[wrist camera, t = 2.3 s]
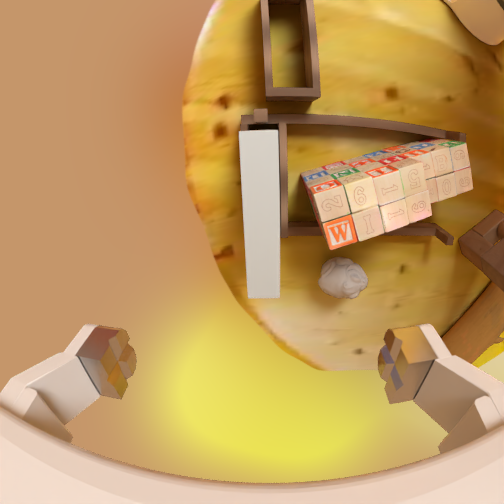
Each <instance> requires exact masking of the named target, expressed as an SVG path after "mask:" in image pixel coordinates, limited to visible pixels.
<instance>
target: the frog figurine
mask: <svg viewBox="0 0 504 504" xmlns="http://www.w3.org/2000/svg"><path fill="white" fill-rule="evenodd" d="M318 284H319V286H320V288H321V289H322V291H323V292H325V293H326V294H328V295H331V296H333V297H336V298H346V299H347V298H350V299H353V298H356V297H357V296H358V295H359V293H360V291H362V290H363V289H365V288H366V287H367V284H368V278H367V276H366V274H365V272H364V270H363V269H362V267H361V266H360V265H358V264H357V263H353V261H352V260H351V259H349V258H343V257H334V258H331V259H329V260H328V261H326V262H325V263H324V264H323V266H322V269H321V277H320V278H319V280H318Z"/></svg>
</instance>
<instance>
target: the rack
mask: <svg viewBox="0 0 504 504" xmlns="http://www.w3.org/2000/svg"><path fill="white" fill-rule="evenodd" d="M241 121H242V124H240V126H241V131H250V124H277V129H278V146H279V189H280V236H281V238H288V236H323V234H322V232H321V229H320V227H319V224H318V222H317V221H296V222H288V171H287V128H286V124H326V125H344V126H357V127H368V128H378V129H387V130H395V131H402V132H409V133H415V134H421V135H427V136H433V137H438V138H443V139H449V140H455V141H460V142H465V143H466V134H464V133H460V132H453V131H445V130H441V129H436V128H431V127H426V126H420V125H415V124H409V123H402V122H396V121H388V120H380V119H372V118H362V117H351V116H337V115H317V114H268V111H267V109H254V115H241ZM380 235H425V236H436V237H437V238H438V239H440V240H441V241H442V242H443V243H445V244H446V245H453V240H454V237H453V236H452V235H450V234H449V233H448V232H446V231H445V230H444V229H442V228H441V227H440V226H438V225H437V224H435V223H417V222H413V223H409V224H408V225H406V226H403V227H401V228H398V229H395V230H393V231H390V232H384V233H383V234H380Z"/></svg>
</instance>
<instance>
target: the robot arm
mask: <svg viewBox="0 0 504 504" xmlns="http://www.w3.org/2000/svg"><path fill="white" fill-rule="evenodd" d="M443 1H444V2H445V3H447V4H448V5H449V6H450V7H451V9H452V10H453V11H454V13H455V14H456V16H457V17H458V18H459V20H460V21H461V22H462V23H463V25H464V26H465V27H466V28H467V29H468V30H469V31H470V32H471V33H472V34H473V35H474V36H475V37H477V38H478V39H479V40H481V41H483V42H484V43H486V44H489V45H497V44H499V43H500V42H501V41H503V40H504V0H443ZM129 339H130V338H129V336H128V333H127V331H126V330H124V329H121V328H113V327H107V326H100V325H99V326H98V325H92V324H86V325H84V326H83V328H82V329H81V330H80V331H79V333H78V334H77V335H76V337H75V338H74V339H73V341H72V342H71V343H70V344H69V346H68V347H67V348H66V350H65V351H64V352H63V353H58V354H56V355H54V356H52V357H50V358H48V359H46V360H44V361H43V362H41V363H39V364H37V365H35V366H33V367H31V368H30V369H28V370H26V371H24V372H22V373H20V374H18V375H16V376H14V377H13V378H11V379H10V380H9V382H8V383H7V385H6V386H5V387H4V389H3V390H2V392H1V393H0V504H504V383H502V382H500V381H499V380H497V379H495V378H494V377H492V376H491V375H489V374H487V373H485V372H483V371H482V370H480V369H479V368H477V367H475V366H473V365H472V364H470V363H468V362H466V361H465V360H463V359H461V358H460V357H458V356H456V355H454V356H452V355H451V354H450V352H449V350H448V349H447V347H446V346H445V344H444V343H443V341H442V339H441V338H440V336H439V335H438V333H437V332H436V330H435V329H434V327H433V326H432V325H431V324H429V323H428V324H422V325H416V326H410V327H403V328H395V329H388V330H387V332H386V333H385V337H384V341H385V343H386V345H385V346H384V347H383V348H382V349H381V350H380V353H379V356H378V370H379V373H380V376H381V378H382V379H384V380H385V381H386V382H387V383H386V386H385V391H386V394H387V397H388V400H389V403H390V404H393V403H399V402H404V401H410V400H413V401H414V402H415V403H416V404H417V405H418V406H419V407H420V408H422V410H424V411H425V412H426V413H427V414H428V415H429V416H430V417H431V418H432V419H433V420H435V421H436V422H437V423H438V424H439V425H440V426H441V427H442V428H443V429H444V430H446V431H447V432H448V433H449V434H448V435H447V436H446V437H445V438H444V440H443V441H442V442H441V443H440V445H439V446H438V448H439V451H440V454H438V455H435V456H432V457H429V458H427V459H424V460H420V461H417V462H413V463H410V464H407V465H403V466H400V467H395V468H392V469H387V470H383V471H378V472H374V473H369V474H364V475H358V476H352V477H345V478H338V479H331V480H322V481H311V482H294V483H245V482H244V483H243V482H229V481H217V480H208V479H200V478H193V477H186V476H181V475H175V474H169V473H165V472H160V471H155V470H150V469H147V468H143V467H139V466H135V465H131V464H128V463H124V462H121V461H118V460H114V459H111V458H108V457H105V456H102V455H99V454H96V453H94V452H91V451H88V450H85V449H83V448H80V447H78V446H75V445H73V444H71V443H70V442H71V440H72V438H73V437H72V434H71V433H70V432H69V431H68V429H67V428H66V427H65V426H64V425H65V424H67V423H68V422H69V421H70V420H72V419H73V418H74V417H75V416H77V415H78V414H79V413H80V412H82V411H83V410H84V409H85V408H87V407H88V406H89V405H90V404H92V403H93V402H94V401H95V400H97V399H98V398H99V397H100V395H102V396H107V397H112V398H117V399H122V397H123V395H124V393H125V390H126V388H127V386H128V383H127V380H126V379H128V378H129V377H131V376H132V375H133V373H134V371H135V369H136V362H137V361H136V354H135V351H134V349H133V348H132V347H131V346H130V345H129V344H128V341H129Z"/></svg>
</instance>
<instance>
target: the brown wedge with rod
mask: <svg viewBox="0 0 504 504" xmlns="http://www.w3.org/2000/svg"><path fill="white" fill-rule="evenodd" d="M499 240H500V241H499ZM498 241H499V242H498ZM496 242H498V243H497V244H496V245H494V244H495V243H496ZM459 244H460V248H461V251H462V254H463V255H464V256H465V257H466V258H468V259H469V260H470V261H471V262H472V263H473V264H474V265H476V266H477V267H478V268H479V269H480V270H481V271H482V272H484V274H485V275H486V276H487V277H488V278H490V279H491V280H492V281H493V282H494V283H495V284H496V285H497V286H498V287H499V288H500V289H501V290H502V291H503V292H504V214H503V213H501V212H500V211H498V210H494V211H493V212H492V213H491V214H489V215H488V216H487V217H486V218H485V219H483V220H482V221H481V222H480V223H478V224H477V225H476V226H475V227H473V228H472V230H469V231H468V232H467V233H466V234H464V235H463V236H462V237H460V238H459Z"/></svg>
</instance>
